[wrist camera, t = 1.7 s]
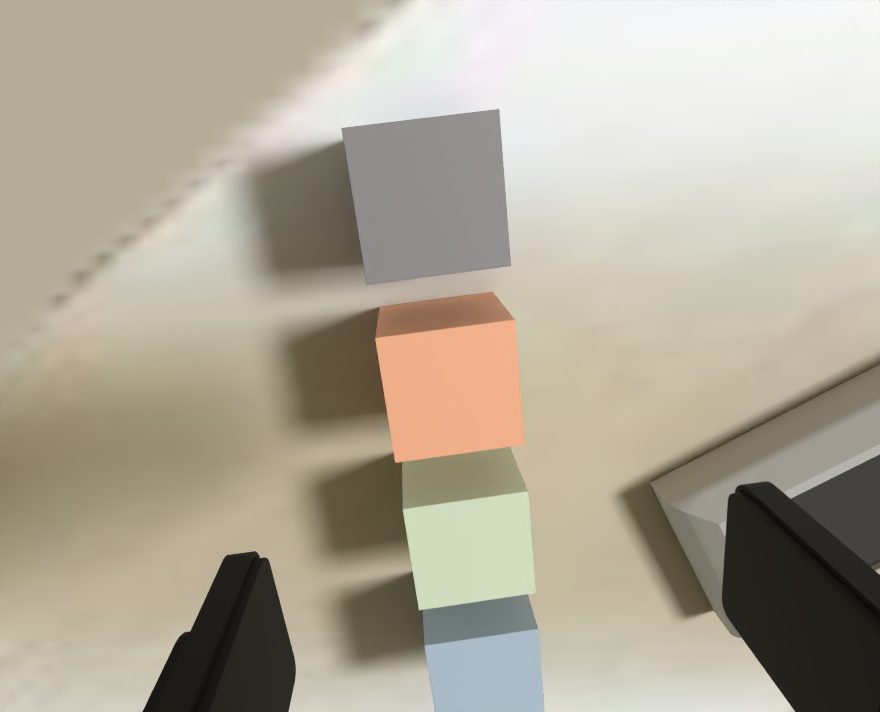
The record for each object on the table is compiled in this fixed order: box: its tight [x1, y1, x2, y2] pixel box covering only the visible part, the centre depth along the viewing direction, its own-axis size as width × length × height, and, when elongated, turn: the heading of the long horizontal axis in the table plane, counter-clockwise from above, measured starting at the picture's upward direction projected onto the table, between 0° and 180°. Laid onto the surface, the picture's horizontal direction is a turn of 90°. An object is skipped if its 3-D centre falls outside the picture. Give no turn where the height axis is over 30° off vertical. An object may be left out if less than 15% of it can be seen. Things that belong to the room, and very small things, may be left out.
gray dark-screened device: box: [650, 364, 880, 638], centre depth 27 cm, size 10×4×15 cm
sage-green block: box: [402, 447, 536, 610], centre depth 25 cm, size 5×5×5 cm
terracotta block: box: [375, 292, 524, 463], centre depth 23 cm, size 5×5×5 cm
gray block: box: [342, 109, 511, 285], centre depth 21 cm, size 5×5×5 cm
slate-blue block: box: [423, 594, 544, 712], centre depth 27 cm, size 5×5×5 cm
